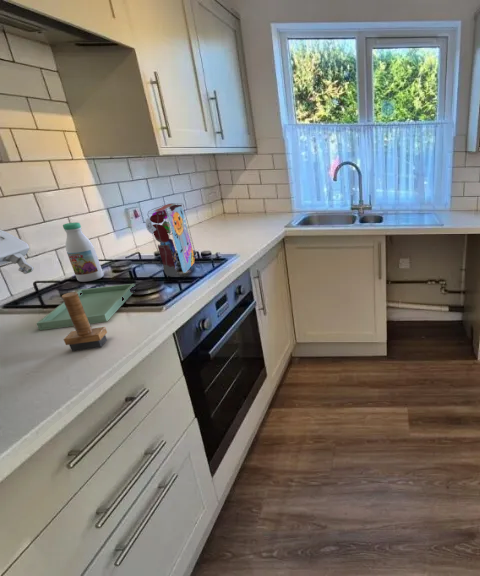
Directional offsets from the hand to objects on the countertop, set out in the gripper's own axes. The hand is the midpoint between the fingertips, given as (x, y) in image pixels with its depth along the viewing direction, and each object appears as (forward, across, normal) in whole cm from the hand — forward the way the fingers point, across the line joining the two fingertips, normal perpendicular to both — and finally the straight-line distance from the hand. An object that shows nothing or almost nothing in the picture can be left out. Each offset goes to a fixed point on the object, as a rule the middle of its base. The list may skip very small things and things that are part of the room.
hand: (11, 278), depth 80 cm
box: (+20, -45, -6) cm, 50 cm away
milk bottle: (-3, -47, -28) cm, 55 cm away
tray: (+10, -22, -15) cm, 29 cm away
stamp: (+20, 0, -5) cm, 21 cm away
